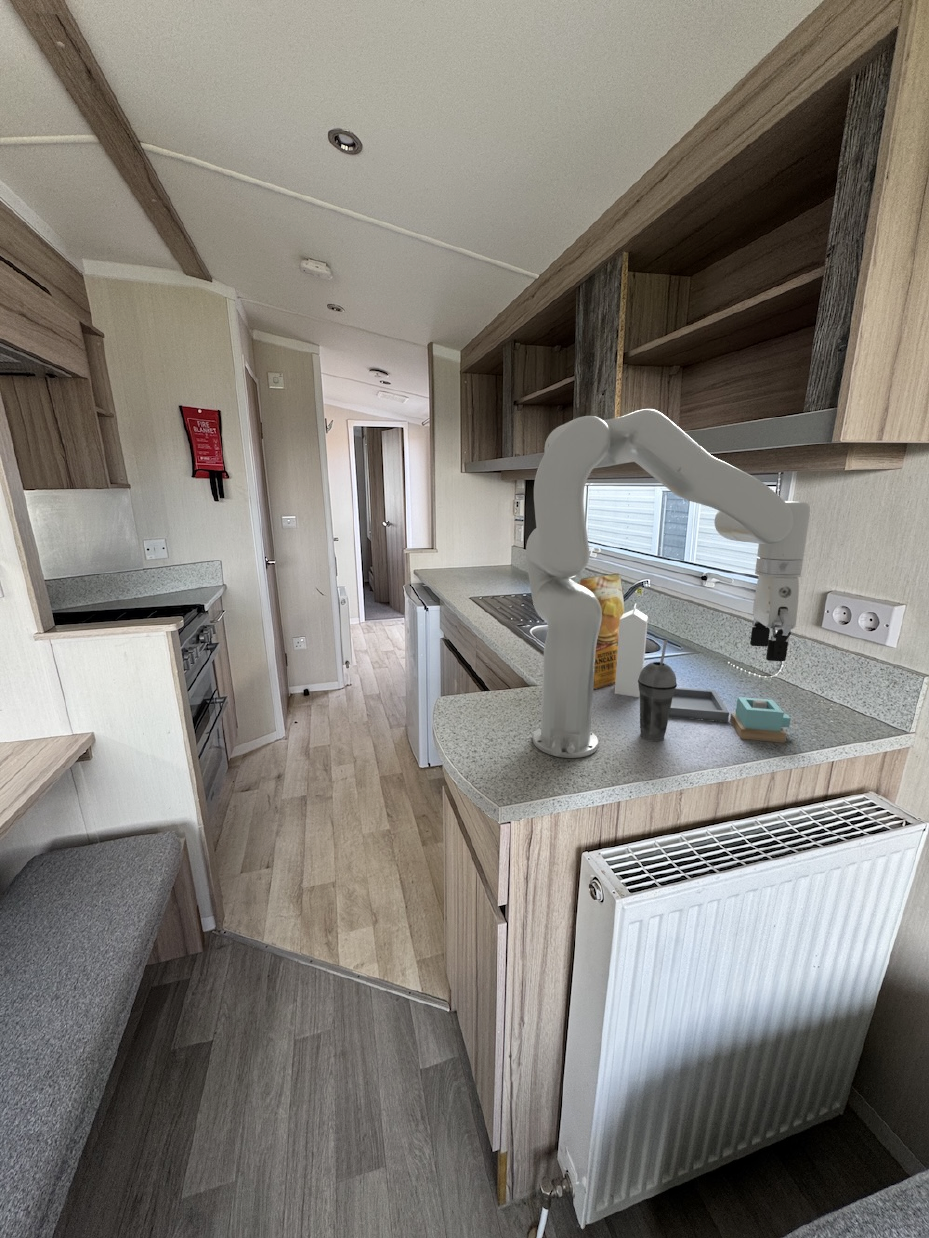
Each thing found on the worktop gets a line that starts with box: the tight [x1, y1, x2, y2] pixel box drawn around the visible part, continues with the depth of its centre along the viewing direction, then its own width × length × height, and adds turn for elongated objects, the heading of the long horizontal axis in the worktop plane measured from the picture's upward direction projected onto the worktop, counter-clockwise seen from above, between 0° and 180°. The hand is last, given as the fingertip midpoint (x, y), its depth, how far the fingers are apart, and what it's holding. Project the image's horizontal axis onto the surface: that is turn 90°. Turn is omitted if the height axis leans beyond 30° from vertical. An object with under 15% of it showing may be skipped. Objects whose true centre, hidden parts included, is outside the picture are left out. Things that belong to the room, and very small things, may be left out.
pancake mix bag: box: [577, 573, 626, 690], centre depth 129 cm, size 7×19×28 cm, turn 124°
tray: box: [669, 687, 730, 723], centre depth 116 cm, size 13×13×2 cm
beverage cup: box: [638, 640, 678, 742], centre depth 100 cm, size 7×7×20 cm
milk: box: [614, 603, 649, 698], centre depth 123 cm, size 6×6×22 cm
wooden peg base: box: [729, 700, 787, 744], centre depth 103 cm, size 8×8×6 cm
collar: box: [735, 696, 791, 731], centre depth 103 cm, size 7×9×4 cm
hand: (766, 652), depth 101 cm, fingers open, 9 cm apart
